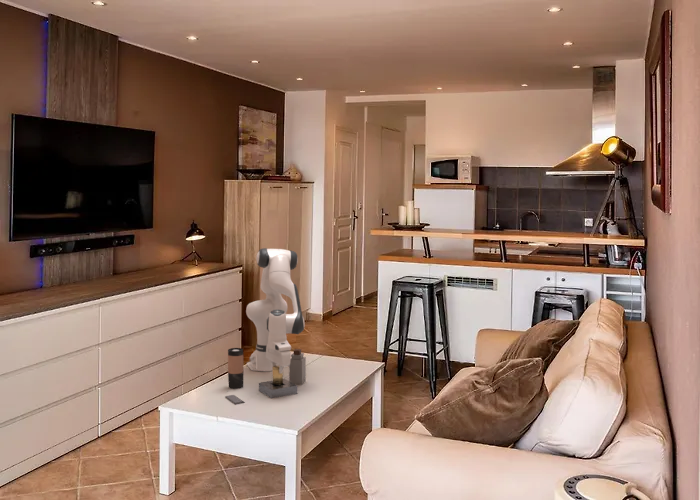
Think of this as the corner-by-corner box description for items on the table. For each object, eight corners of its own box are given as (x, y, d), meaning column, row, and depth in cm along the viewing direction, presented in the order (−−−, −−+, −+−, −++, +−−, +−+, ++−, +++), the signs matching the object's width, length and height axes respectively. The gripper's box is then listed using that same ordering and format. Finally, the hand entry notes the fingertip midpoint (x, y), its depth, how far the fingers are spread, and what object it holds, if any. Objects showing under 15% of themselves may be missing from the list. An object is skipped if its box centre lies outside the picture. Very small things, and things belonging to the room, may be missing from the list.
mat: (225, 397, 320) (225, 396, 320) (248, 393, 327) (248, 392, 327) (235, 404, 310) (235, 402, 310) (258, 400, 317) (258, 398, 317)
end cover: (271, 382, 327) (270, 366, 326) (280, 380, 329) (279, 364, 329) (275, 385, 323) (275, 368, 322) (284, 383, 325) (284, 367, 324)
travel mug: (246, 387, 337) (246, 348, 336) (239, 391, 330) (238, 351, 328) (232, 385, 340) (232, 347, 338) (225, 390, 333) (224, 350, 331)
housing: (258, 392, 329) (258, 382, 328) (284, 388, 336) (284, 378, 336) (271, 400, 317) (271, 390, 316) (297, 395, 324) (297, 385, 324)
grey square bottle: (302, 386, 339) (302, 351, 338) (289, 385, 341) (289, 351, 339) (305, 382, 346) (305, 348, 344) (293, 382, 347) (292, 348, 346)
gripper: (262, 340, 331) (262, 367, 333) (280, 348, 314) (281, 377, 315) (274, 338, 335) (274, 365, 336) (292, 347, 317) (292, 375, 319)
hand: (277, 371), depth 325 cm, fingers closed on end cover, 5 cm apart
